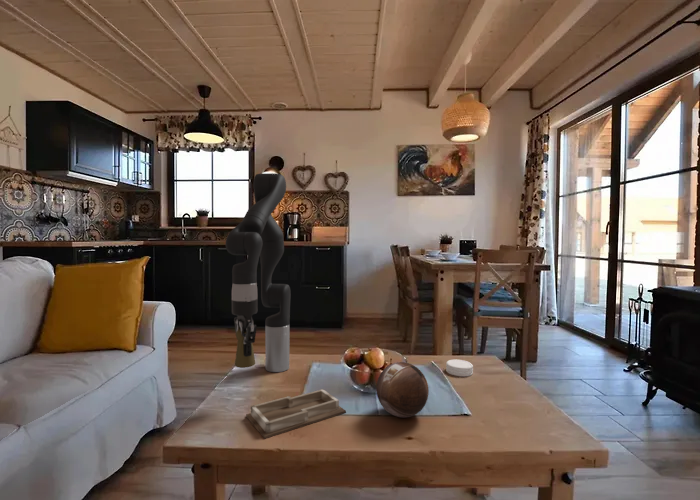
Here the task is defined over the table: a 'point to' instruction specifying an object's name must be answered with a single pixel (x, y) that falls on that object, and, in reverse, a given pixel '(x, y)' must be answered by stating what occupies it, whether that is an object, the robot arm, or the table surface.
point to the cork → (240, 358)
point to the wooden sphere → (402, 389)
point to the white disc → (459, 367)
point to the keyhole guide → (293, 412)
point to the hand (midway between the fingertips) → (245, 353)
